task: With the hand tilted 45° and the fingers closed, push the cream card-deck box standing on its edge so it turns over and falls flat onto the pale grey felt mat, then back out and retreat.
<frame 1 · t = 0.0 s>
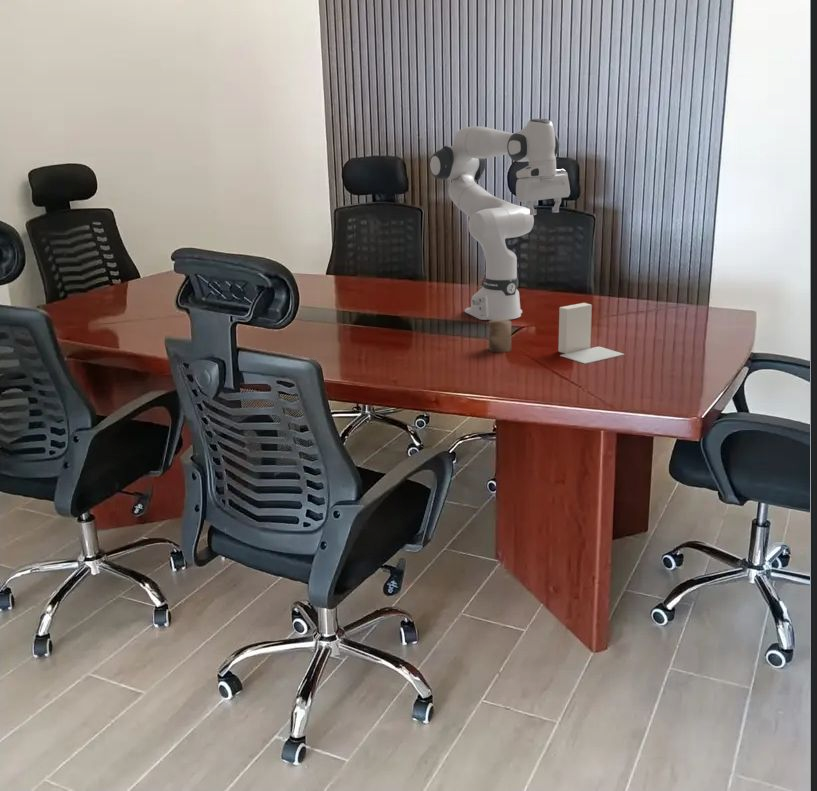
hand: (544, 213, 289), 39 cm above the table, tool pointing down, fingers open, 8 cm apart
card box: (574, 349, 274), on the table
felt mat: (592, 355, 268), on the table
tan cardboard tube: (499, 349, 277), on the table
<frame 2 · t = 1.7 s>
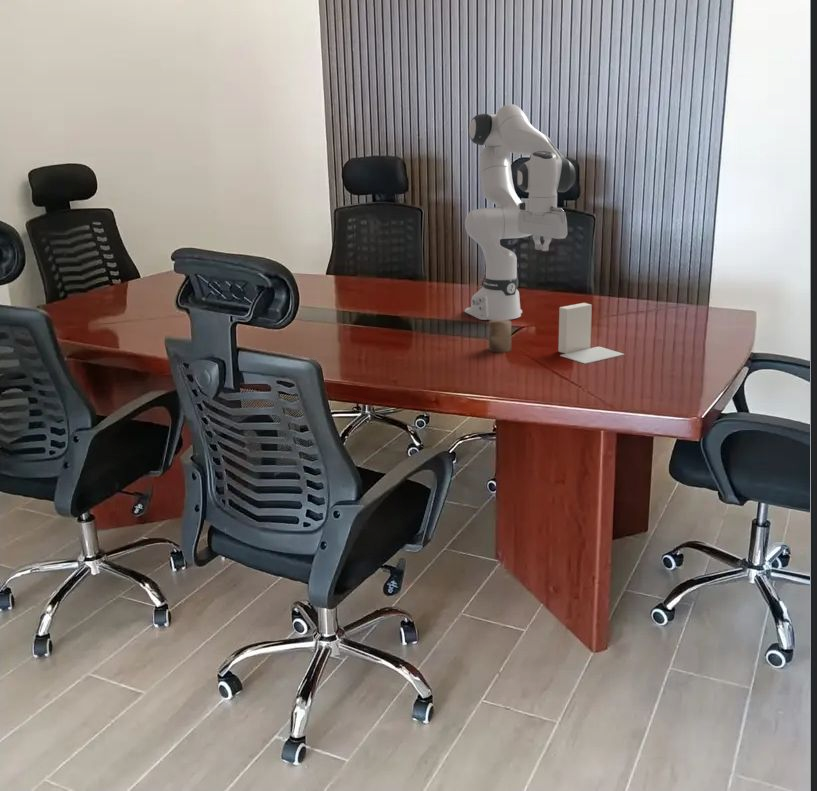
hand: (541, 250, 279), 29 cm above the table, tool pointing down, fingers closed
nothing on the table moved.
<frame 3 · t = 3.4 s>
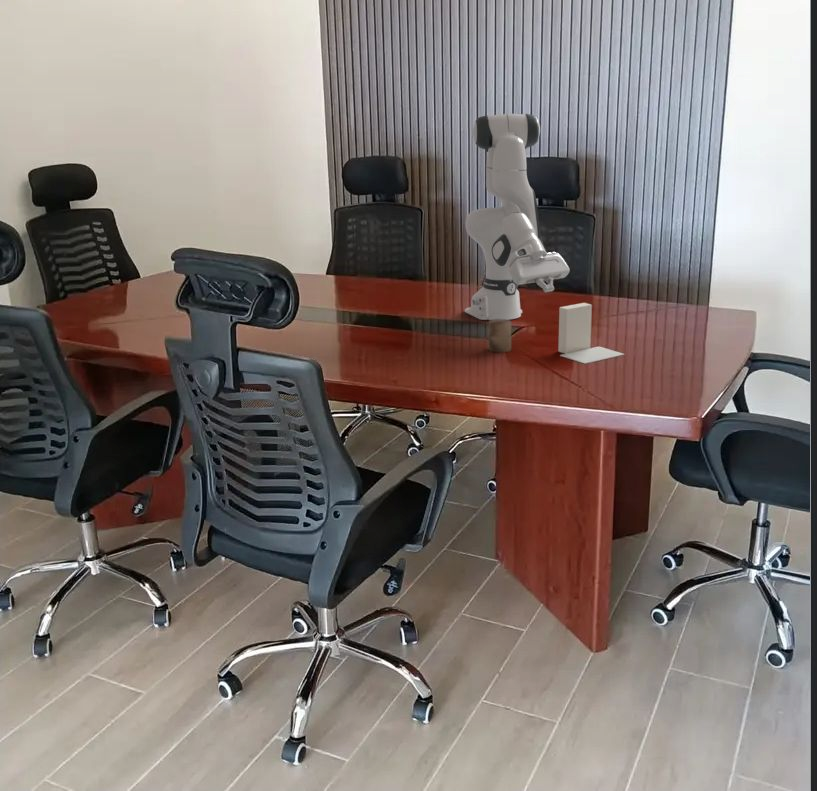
hand: (549, 290, 278), 17 cm above the table, tool tilted 45°, fingers closed
nothing on the table moved.
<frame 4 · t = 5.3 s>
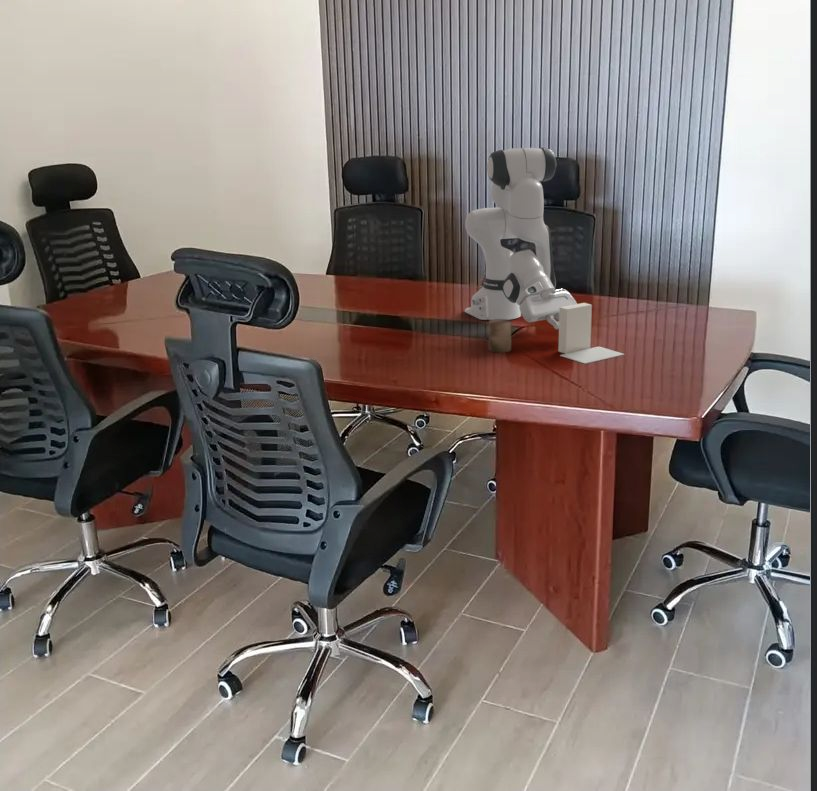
hand: (560, 327, 278), 6 cm above the table, tool tilted 45°, fingers closed
nothing on the table moved.
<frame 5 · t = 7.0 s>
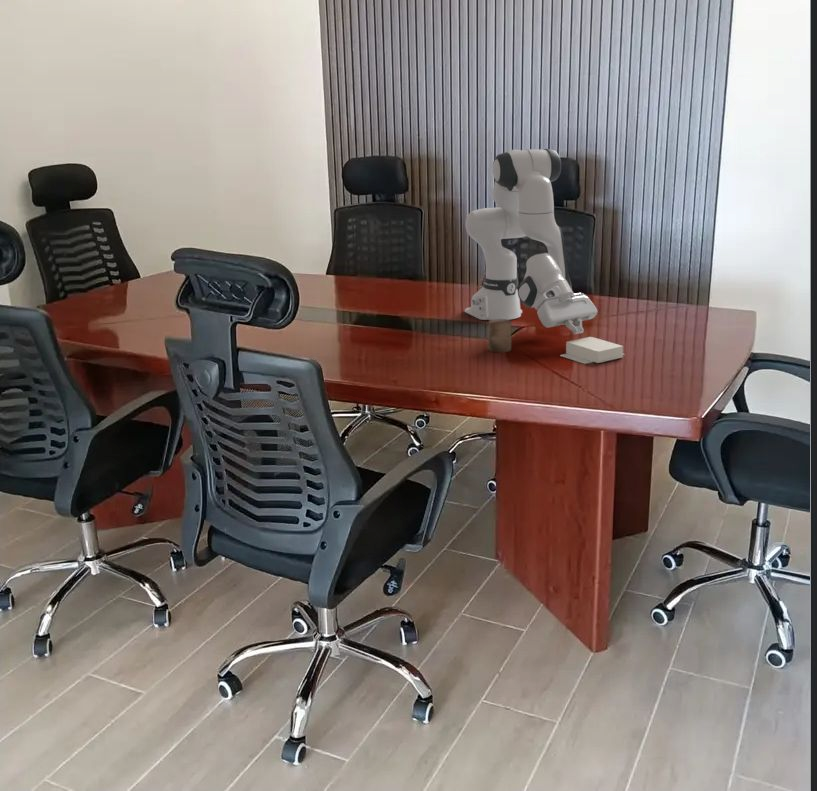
hand: (579, 332, 271), 6 cm above the table, tool tilted 45°, fingers closed
card box: (578, 344, 272), point 2 cm above the table, tilted 90°, touching felt mat
everything else where it was.
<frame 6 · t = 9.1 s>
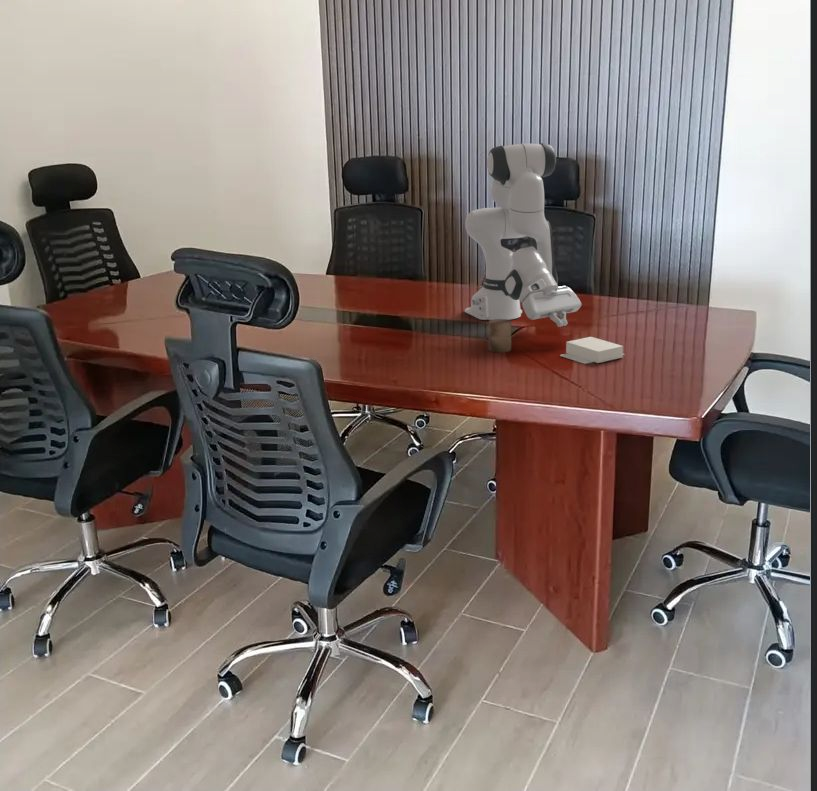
hand: (563, 325, 277), 7 cm above the table, tool tilted 45°, fingers closed
nothing on the table moved.
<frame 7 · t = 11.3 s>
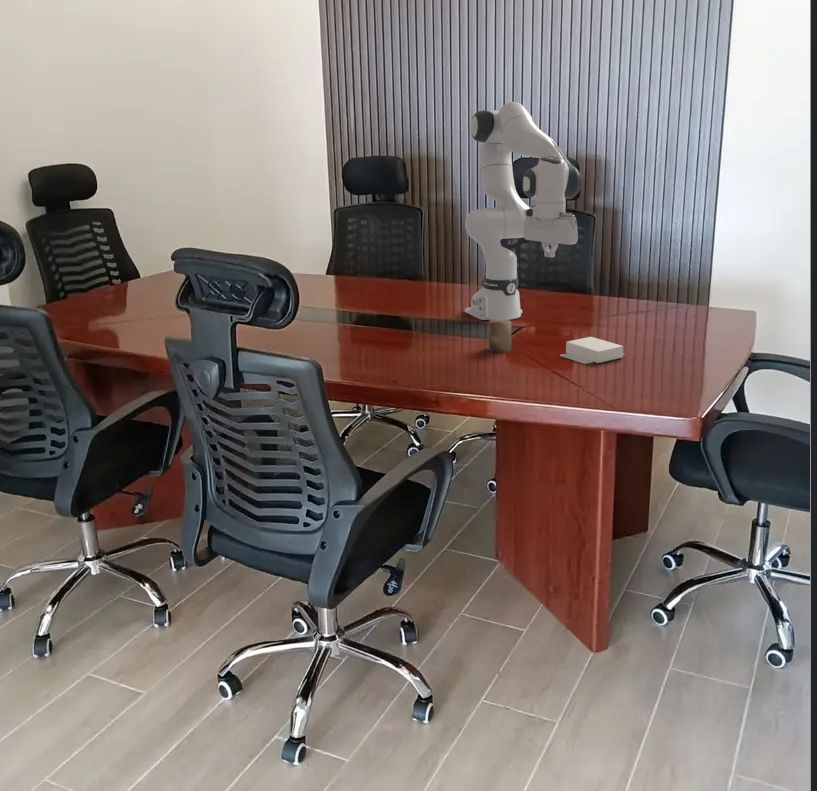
hand: (549, 256, 274), 28 cm above the table, tool pointing down, fingers closed
nothing on the table moved.
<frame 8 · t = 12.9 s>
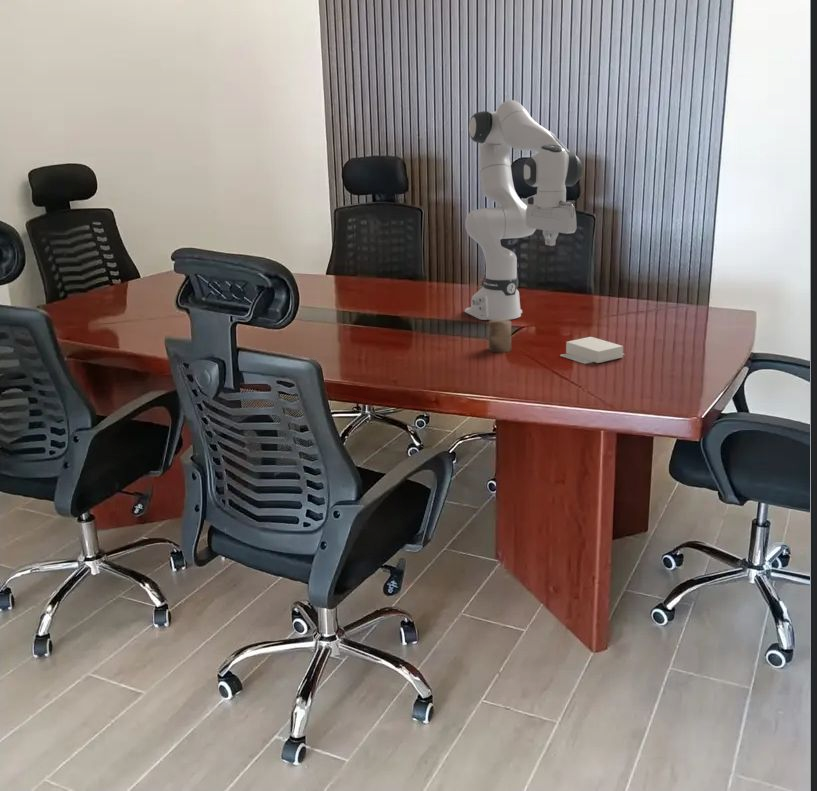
hand: (550, 245, 275), 31 cm above the table, tool pointing down, fingers closed
nothing on the table moved.
at the end: card box tilted 90°; card box inside the target area (6.2 cm from its centre), point 2.0 cm above the table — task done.
